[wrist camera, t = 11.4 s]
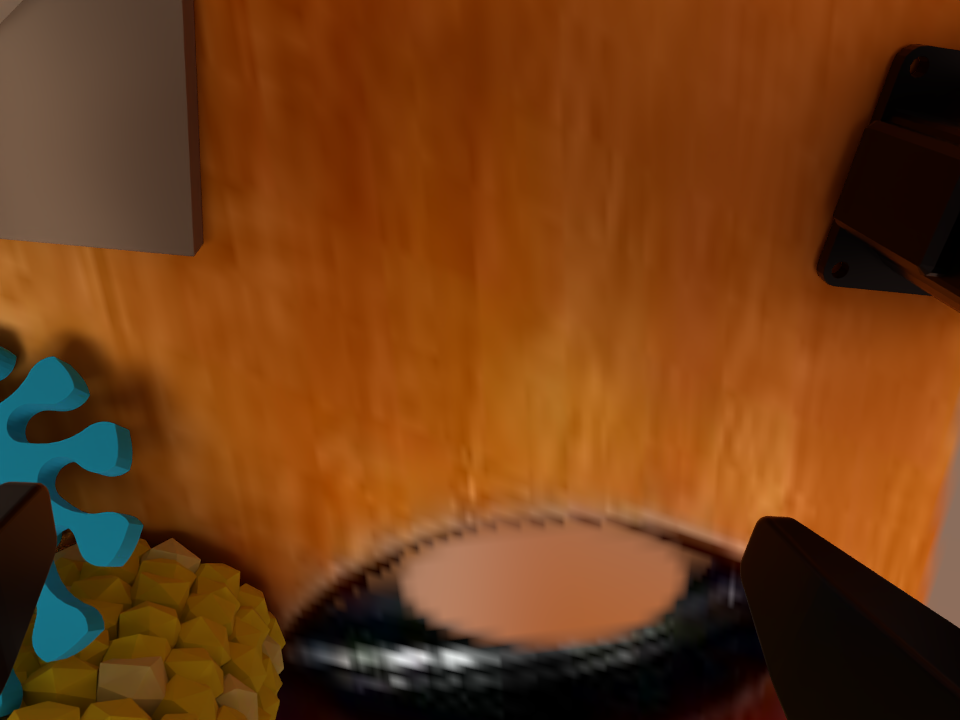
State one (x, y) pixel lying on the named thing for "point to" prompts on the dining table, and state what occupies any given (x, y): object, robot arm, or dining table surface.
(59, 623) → the blue knobbed toy
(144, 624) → the food
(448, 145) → the dining table surface
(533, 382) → the dining table surface
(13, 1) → the seat ring
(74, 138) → the board
